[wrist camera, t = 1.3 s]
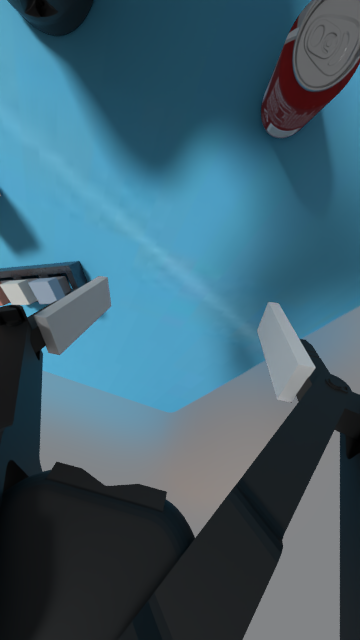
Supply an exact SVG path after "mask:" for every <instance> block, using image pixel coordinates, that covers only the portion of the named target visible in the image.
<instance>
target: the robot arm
mask: <svg viewBox="0 0 360 640" xmlns="http://www.w3.org/2000/svg"><path fill="white" fill-rule="evenodd" d="M7 1H8V2H9V3H10V4H11V5H12V6H13V7H14V8H15V9H16V10H17V11H18V12H19V13H20V14H21V15H22V16H23V17H24V18H25V19H26V20H27V21H28V22H29V23H30V24H32V25H33V26H34V27H36V28H37V29H39V30H40V31H42V32H44V33H47V34H50V35H65V34H68V33H70V32H72V31H73V30H75V29H76V28H77V27H78V26H79V25H80V24H81V23H82V21H83V20H84V19H85V17H86V16H87V14H88V12H89V10H90V8H91V5H92V3H93V0H7ZM110 307H111V300H110V292H109V285H108V277H103V276H98V277H96V278H95V279H93V280H92V281H90V282H88V283H87V284H85V285H83V286H82V287H80V288H78V289H77V290H75V291H73V292H72V293H70V294H68V295H67V296H65V297H64V298H62V299H60V300H57V301H54V302H53V303H51V304H49V305H48V306H46V307H44V308H43V309H41V310H39V311H37V312H36V313H34V314H32V315H31V316H29V317H27V316H26V314H25V311H24V309H23V307H22V306H20V305H8V306H3V307H0V640H242V639H243V637H244V635H245V633H246V631H247V628H248V626H249V624H250V622H251V620H252V617H253V615H254V613H255V611H256V609H257V607H258V604H259V602H260V600H261V598H262V596H263V594H264V592H265V589H266V587H267V585H268V583H269V581H270V579H271V576H272V574H273V572H274V570H275V568H276V566H277V563H278V561H279V558H280V556H281V553H282V549H283V543H282V539H283V536H284V533H285V531H286V529H287V527H288V525H289V523H290V521H291V519H292V516H293V514H294V512H295V510H296V508H297V506H298V504H299V502H300V500H301V497H302V496H303V494H304V491H305V489H306V487H307V485H308V483H309V481H310V479H311V477H312V475H313V473H314V471H315V469H316V466H317V465H318V463H319V461H320V458H321V456H322V454H323V452H324V450H325V448H326V446H327V444H328V442H329V440H330V438H331V436H332V434H333V432H334V430H337V431H338V432H340V640H360V395H359V394H356V393H354V392H352V391H351V389H350V387H349V386H348V385H347V384H346V383H345V382H344V381H343V380H341V379H340V378H338V377H336V376H334V375H332V374H330V373H329V371H328V369H327V368H326V366H325V365H324V363H323V362H322V360H321V359H320V358H319V356H318V354H317V353H316V351H315V349H314V348H313V346H312V345H311V344H309V343H308V342H307V341H306V340H303V339H299V338H298V336H297V334H296V333H295V331H294V329H293V327H292V326H291V324H290V322H289V320H288V319H287V317H286V315H285V313H284V312H283V310H282V308H281V307H280V305H279V303H273V302H268V304H267V306H266V309H265V312H264V314H263V317H262V319H261V322H260V325H259V327H258V330H257V332H258V335H259V339H260V342H261V346H262V349H263V353H264V356H265V360H266V363H267V367H268V370H269V374H270V377H271V380H272V384H273V388H274V391H275V394H276V398H277V400H281V401H286V402H291V403H292V401H293V400H294V398H295V397H296V396H297V399H298V401H299V403H298V404H297V405H296V406H295V408H294V409H293V411H292V412H291V413H290V414H289V416H288V417H287V418H286V420H285V421H284V423H283V424H282V425H281V426H280V428H279V429H278V430H277V432H276V433H275V434H274V436H273V437H272V438H271V440H270V441H269V442H268V444H267V445H266V446H265V448H264V449H263V450H262V451H261V453H260V454H259V455H258V457H257V458H256V459H255V461H254V462H253V463H252V465H251V466H250V467H249V469H248V470H247V471H246V473H245V474H244V475H243V477H242V478H241V479H240V480H239V482H238V483H237V484H236V486H235V487H234V488H233V489H232V491H231V492H230V493H229V495H228V496H227V497H226V498H225V500H224V501H223V502H222V504H221V505H220V506H219V508H218V509H217V510H216V512H215V513H214V514H213V516H212V517H211V518H210V520H209V521H208V522H207V524H206V525H205V526H204V528H203V529H202V530H201V532H200V533H199V534H198V536H197V537H196V538H195V537H194V535H193V532H192V530H191V528H190V526H189V524H188V523H187V521H186V520H185V518H184V516H183V515H182V514H181V513H180V512H179V510H178V509H177V508H176V507H175V506H174V505H173V504H172V503H170V502H169V501H167V500H166V493H167V492H166V491H162V490H158V489H155V488H151V487H148V486H144V485H140V484H132V485H117V486H105V485H103V484H102V483H101V482H99V481H98V480H97V479H95V478H94V477H92V476H91V475H90V474H89V473H87V472H86V471H85V470H83V469H82V468H78V467H74V466H70V465H67V464H63V463H60V462H56V463H55V465H54V467H53V468H52V470H48V471H44V472H42V469H41V465H40V460H39V449H40V419H41V389H42V362H43V353H42V351H41V349H42V348H43V347H44V346H46V348H47V350H48V352H49V353H52V354H57V355H60V354H61V353H62V352H63V351H65V350H66V349H67V348H68V347H69V346H70V345H71V344H72V343H73V342H74V341H75V340H76V339H77V338H78V337H79V336H80V335H81V334H82V333H83V332H84V331H86V330H87V329H88V328H89V327H90V326H91V325H92V324H93V323H94V322H95V321H96V320H97V319H98V318H99V317H100V316H101V315H102V314H103V313H104V312H105V311H107V310H108V309H109V308H110Z"/></svg>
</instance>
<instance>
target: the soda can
mask: <svg viewBox="0 0 360 640" xmlns="http://www.w3.org/2000/svg"><path fill="white" fill-rule="evenodd" d="M359 63H360V0H312V1H311V2H310V3H309V4H308V5H307V6H306V7H305V8H304V10H303V11H302V12H301V13H300V15H299V16H298V18H297V19H296V21H295V22H294V24H293V26H292V28H291V30H290V32H289V34H288V36H287V39H286V41H285V44H284V46H283V49H282V51H281V54H280V56H279V59H278V61H277V64H276V66H275V69H274V71H273V74H272V76H271V79H270V81H269V84H268V86H267V89H266V91H265V94H264V97H263V101H262V106H261V119H262V124H263V126H264V128H265V130H266V132H267V133H268V134H269V135H271V136H273V137H275V138H286V137H289V136H291V135H293V134H295V133H296V132H298V131H299V130H300V129H301V128H302V127H303V126H304V125H305V124H307V123H308V122H309V121H310V120H311V119H312V118H313V117H314V116H315V115H316V114H317V113H318V112H319V111H320V110H321V109H322V108H324V107H325V106H326V105H327V104H328V103H329V102H330V101H331V100H332V99H333V98H334V97H335V96H336V95H337V94H338V93H339V92H340V91H341V90H342V89H343V88H344V87H345V86H346V84H347V83H348V82H349V80H350V79H351V77H352V76H353V74H354V73H355V71H356V69H357V67H358V65H359Z"/></svg>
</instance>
